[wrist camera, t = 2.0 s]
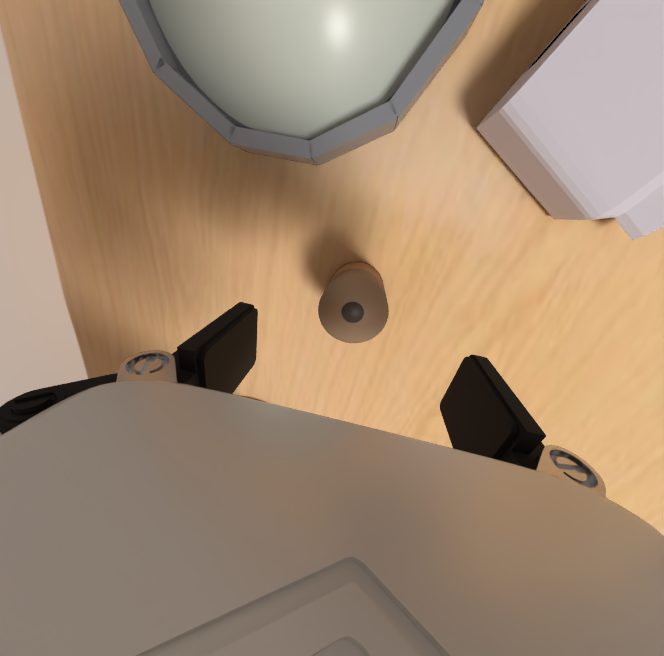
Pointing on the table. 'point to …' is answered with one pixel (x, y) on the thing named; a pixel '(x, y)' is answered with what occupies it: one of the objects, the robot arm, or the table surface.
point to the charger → (592, 118)
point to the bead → (354, 303)
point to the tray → (300, 65)
